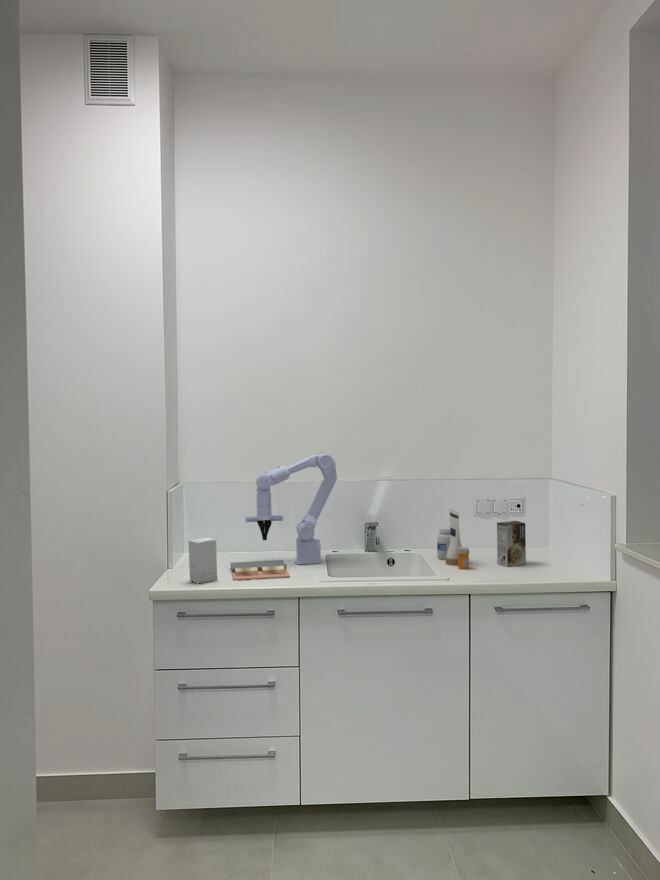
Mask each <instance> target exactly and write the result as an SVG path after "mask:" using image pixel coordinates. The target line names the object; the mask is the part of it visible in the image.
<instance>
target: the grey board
mask: <svg viewBox="0 0 660 880" xmlns="http://www.w3.org/2000/svg"><path fill="white" fill-rule="evenodd" d="M271 566H284V568H285V570H287V565H286V563H285V561H284V560H283V559H277V560H276V559H275V560H274V559H273V560H257V561H256V560H255V561H238V562H230V571H231V574H232V573H235V568H250V567H257V569H258V571H262V567H271Z"/></svg>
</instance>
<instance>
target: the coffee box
mask: <svg viewBox="0 0 660 880" xmlns="http://www.w3.org/2000/svg"><path fill="white" fill-rule="evenodd" d="M526 543H527V542H526V522H522V521H519V520H509V521H508V520H507V521H501V522H496V544H497V545H496V548H497V549H496V552H497V553H496V557H497V558H496V563H497V565H499V566H503V567H506V568H509V567H516V566H523V565H526V564H527V558H526V556H527V554H526V553H527V551H526V549H527V546H526Z"/></svg>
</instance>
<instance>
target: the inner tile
mask: <svg viewBox="0 0 660 880" xmlns="http://www.w3.org/2000/svg"><path fill="white" fill-rule="evenodd" d="M262 573H263V575H271V574H285V568H284V566H271V567H262Z"/></svg>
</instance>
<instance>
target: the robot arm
mask: <svg viewBox="0 0 660 880" xmlns="http://www.w3.org/2000/svg"><path fill="white" fill-rule="evenodd" d="M336 465H337V463H336V461H335V459H334V457H333V456H332V455H331V454H329V453H327V452H319V453H318V454H317V453H316V454H313V455H310V456H307V457H305V458H303V459H301V460H299V461H297V462H295V463H292V464H291V465H288V466H284V465H277V466H276V468H274V469H271V470H270V471H267V470H266V471H265V472H264V473H265V474H264V473H263V474H260V475H258V476H257V478H256V480H255V484H256V486H257V488H256V492H257V493H256V515H253V516H244V518H245V519H244V520H245V523H257V525H258V528H259V530H260V533H261V537H262V541H267V539H268V534H269V531H270V529H271V526H272V522H284V515H272V492H271V487H272V486H276V485H279V484H280V483H282V482H285V481H287V480H289V479H290V476H291V475H292V474H295V473H298V472H300V471H302V470H305V469H307V468H315V469H316V468H317V467H318V468H319V470H320V471H321V474H322V477H323V480H322V481H321V483H320V485H319V488H318V490H317V491H316V493H315V496H314V498H313V500H312V502H311V504H310V507H309V508H308V510H307V512H306V514H305V515H304V516H303V518H302V520H301V521H300V522H299V523H298V524H297V526H296V528H295V529H296V532H297V535H298V536H297V537H296V538H295V539H296V541H295V543H296V546H295V547H296V558H294V562H295V563H296V564H297V565H308V564H311V565H312V564H321V563H322V561H321V557H322V556H321V555H322V552H321V551H322V549H321V541H320V539H315V537H314V536H315V528H316V526H317V523H318V519H319V517H320V515H321V512H323V509H324V507H325V505H326V502H327V501H328V499H329V496H330V494H331V492H332V490H333V489H334V486H335V485H336V482H337V481H338V480H337V479H338V476H337V467H336ZM318 468H317V469H318Z"/></svg>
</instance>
